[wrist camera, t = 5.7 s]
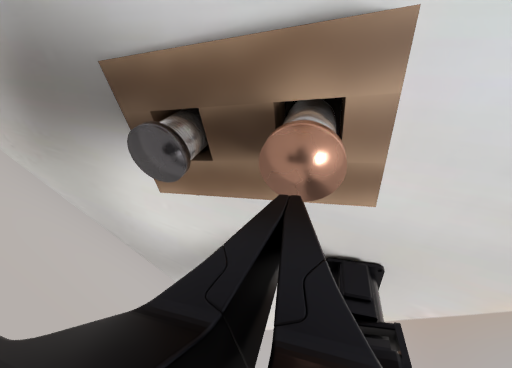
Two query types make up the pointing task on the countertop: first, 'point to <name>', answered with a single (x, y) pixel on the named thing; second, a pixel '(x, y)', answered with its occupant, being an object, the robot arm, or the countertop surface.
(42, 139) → the countertop surface
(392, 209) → the countertop surface
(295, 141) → the copper capped plug
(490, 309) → the countertop surface
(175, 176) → the grey plug
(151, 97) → the socket block
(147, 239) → the countertop surface
